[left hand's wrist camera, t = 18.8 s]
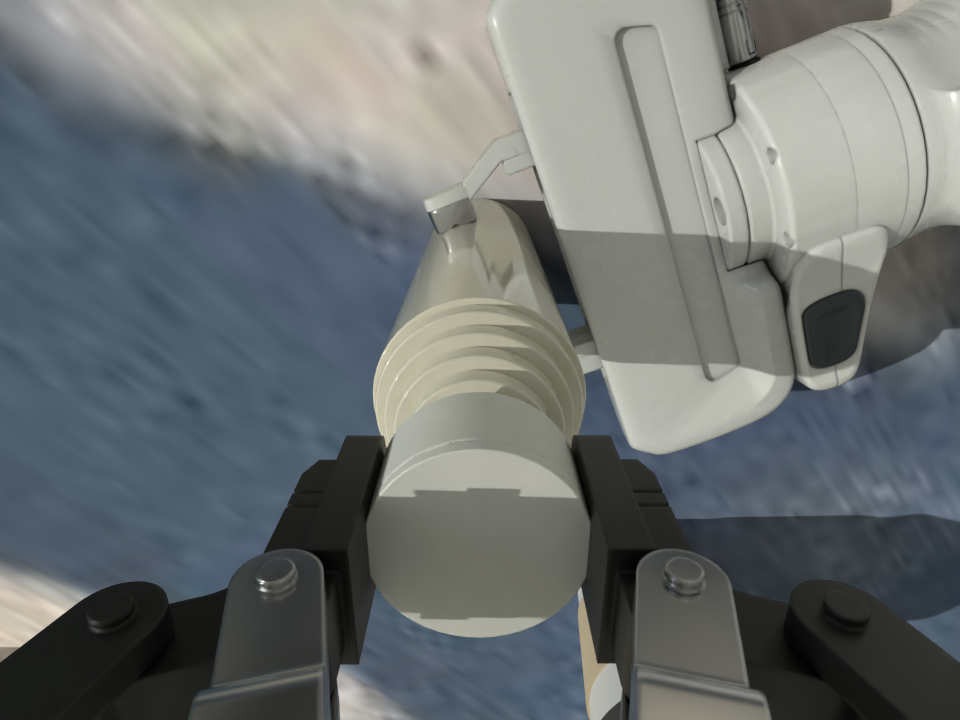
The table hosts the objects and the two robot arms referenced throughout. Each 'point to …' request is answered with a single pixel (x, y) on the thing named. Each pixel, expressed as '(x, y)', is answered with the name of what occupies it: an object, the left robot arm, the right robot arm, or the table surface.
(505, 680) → the table surface
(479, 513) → the cap
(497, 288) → the bottle
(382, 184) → the table surface
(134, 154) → the table surface
